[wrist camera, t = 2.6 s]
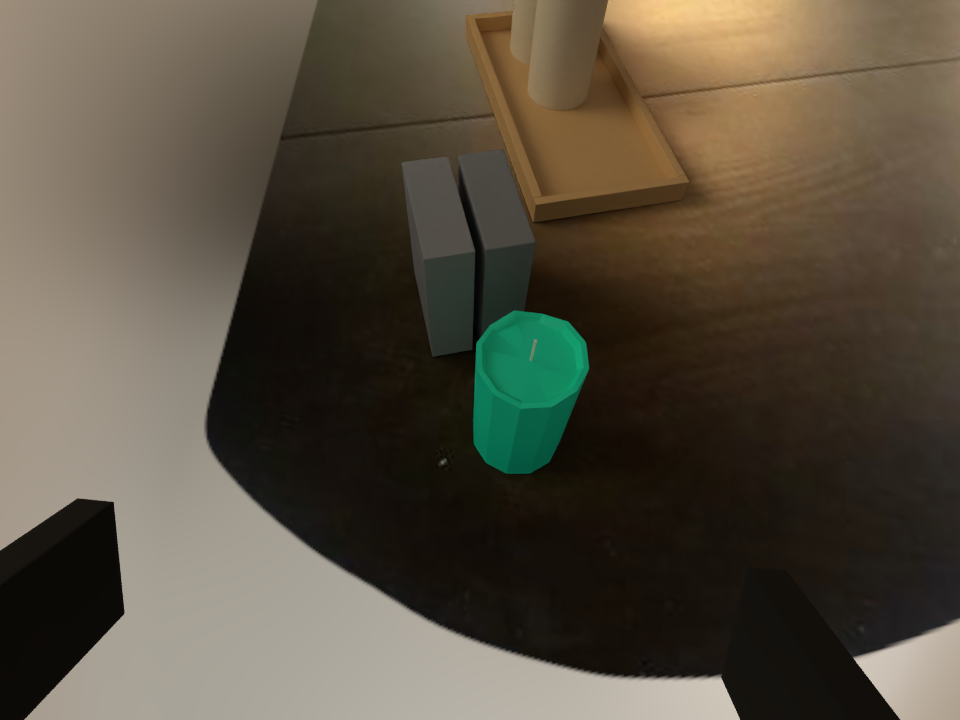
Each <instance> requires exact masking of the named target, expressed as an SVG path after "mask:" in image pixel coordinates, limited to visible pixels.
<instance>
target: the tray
mask: <svg viewBox="0 0 960 720" xmlns="http://www.w3.org/2000/svg"><path fill="white" fill-rule="evenodd" d="M512 15H513V11H506V12H496V13H486V14H476V15H466V37H467V40H468V43H469V45H470V48H471V51H472V54H473V57H474V59H475V62H476V65H477V68H478V70H479V73H480V76H481V79H482V82H483V84H484V87H485V90H486V93H487V96H488V98H489V101H490V104H491V107H492V109H493V112H494V115H495V118H496V121H497V123H498V126H499V129H500V132H501V134H502V137H503V140H504V143H505V146H506V148H507V151H508V154H509V157H510V160H511V162H512V165H513V168H514V171H515V173H516V176H517V179H518V182H519V185H520V187H521V190H522V193H523V196H524V198H525V201H526V204H527V207H528V210H529V212H530V215H531V218H532V221H533V222H540V221H546V220H553V219H559V218H566V217H573V216H579V215H586V214H592V213H599V212H605V211H612V210H619V209H625V208H632V207H638V206H645V205H651V204H658V203H665V202H671V201H678V200H682V198H683V195H684V193H685V191H686V189H687V186H688V184H689V180H688V178H687V177H686V175H685V173H684V171H683V170H682V168H681V166H680V164H679V162H678V161H677V159H676V157H675V155H674V154H673V152H672V150H671V148H670V146H669V145H668V143H667V141H666V139H665V138H664V136H663V134H662V132H661V131H660V129H659V127H658V125H657V123H656V122H655V120H654V118H653V116H652V115H651V113H650V111H649V109H648V107H647V106H646V104H645V102H644V100H643V99H642V97H641V95H640V93H639V92H638V90H637V88H636V86H635V84H634V83H633V81H632V79H631V77H630V76H629V74H628V72H627V70H626V69H625V67H624V65H623V63H622V61H621V60H620V58H619V56H618V54H617V53H616V51H615V49H614V47H613V45H612V44H611V42H610V40H609V38H608V37H607V35H606V33H605V31H604V30H603V28H602V31H601V36H600V40H599V45H598V50H597V54H596V59H595V64H594V69H593V73H592V78H591V83H590V87H589V92H588V96H587V99H586V100H585V102H584V103H583V104H581V105H580V106H578V107H576V108H573V109H570V110H552V109H548V108H545V107H542V106H540V105H538V104H537V103H535V102H534V101H533V100H532V99H531V98H530V96H529V94H528V90H527V88H528V79H529V70H530V65H528V64H525V63H522V62H520V61H519V60H517V59H516V58H515V57H514V56H513V55H512V53H511V50H510V41H511V28H512Z"/></svg>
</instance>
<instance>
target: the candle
mask: <svg viewBox="0 0 960 720" xmlns="http://www.w3.org/2000/svg"><path fill="white" fill-rule="evenodd" d="M588 370H589V362H588V354H587V347H586V342H585V340H584V339H583V338H582V337H581V336H580V335H579V333H578V332H577V331H576V330H575V329H574V328H573V326H572V325H571V324H570V323H569V322H568V321H564V320H561V319H558V318H555V317H551V316H548V315H545V314H541V313H532V312H524V311H515V310H514V311H512V312H511V313H509V314H507V315H506V316H504V317H503V318H501V319H499V320H498V321H496V322H494V323H493V324H491V325H490V326H489V327H488V328H487V330H486V331H485V332H484V334H483V335H482V336H481V338H480V339H479V340H478V342H477V343H476V365H475V391H474V416H473V433H474V445H475V447H476V448H477V450H478V451H479V453H480V455H481V456H482V458H483V459H484V461H485V462H486V463H487V464H489V465H491V466H493V467H495V468H496V469H498V470H500V471H502V472H504V473H506V474H530V473H532V472H534V471H535V470H537V469H539V468H540V467H542V466H544V465H545V464H547V463H549V462H550V460H551V458H552V456H553V454H554V452H555V450H556V448H557V446H558V444H559V442H560V440H561V437H562V435H563V432H564V430H565V427H566V425H567V422H568V420H569V417H570V415H571V412H572V410H573V407H574V405H575V403H576V400H577V398H578V395H579V393H580V390H581V388H582V385H583V383H584V380H585V378H586V375H587V373H588Z"/></svg>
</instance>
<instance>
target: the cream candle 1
mask: <svg viewBox="0 0 960 720" xmlns="http://www.w3.org/2000/svg"><path fill="white" fill-rule="evenodd" d="M536 6H537V0H514V1H513V15H512V28H511V41H510V50H511V53H512V55H513V56H514V57H515V58H516V59H517V60H519V61H520V62H522V63H525V64H528V65H530V60H531V51H532V42H533V33H534V24H535V15H536Z"/></svg>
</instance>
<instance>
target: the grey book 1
mask: <svg viewBox="0 0 960 720" xmlns="http://www.w3.org/2000/svg"><path fill="white" fill-rule="evenodd" d="M402 170H403V179H404V187H405V196H406V204H407V213H408V221H409V230H410V238H411V246H412V255H413V263H414V272H415V277H416V281H417V286H418V291H419V296H420V300H421V305H422V310H423V315H424V319H425V324H426V329H427V333H428V338H429V343H430V348H431V352H432V356H433V357H434V356H440V355H445V354H451V353H457V352H462V351H468V350H472V346H473V312H474V278H475V249H474V245H473V242H472V238H471V235H470V231H469V228H468V224H467V221H466V217H465V214H464V210H463V206H462V203H461V199H460V196H459V192H458V189H457V185H456V182H455V178H454V175H453V171H452V168H451V164H450V161H449V157H448V156H447V157H439V158H432V159H424V160H417V161H409V162H402Z"/></svg>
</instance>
